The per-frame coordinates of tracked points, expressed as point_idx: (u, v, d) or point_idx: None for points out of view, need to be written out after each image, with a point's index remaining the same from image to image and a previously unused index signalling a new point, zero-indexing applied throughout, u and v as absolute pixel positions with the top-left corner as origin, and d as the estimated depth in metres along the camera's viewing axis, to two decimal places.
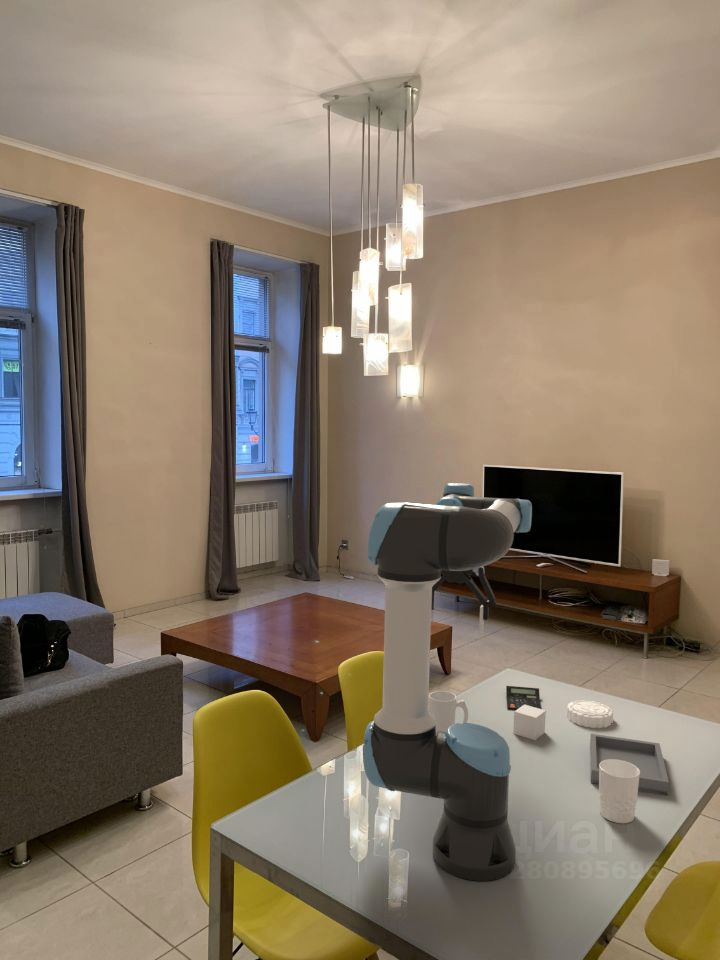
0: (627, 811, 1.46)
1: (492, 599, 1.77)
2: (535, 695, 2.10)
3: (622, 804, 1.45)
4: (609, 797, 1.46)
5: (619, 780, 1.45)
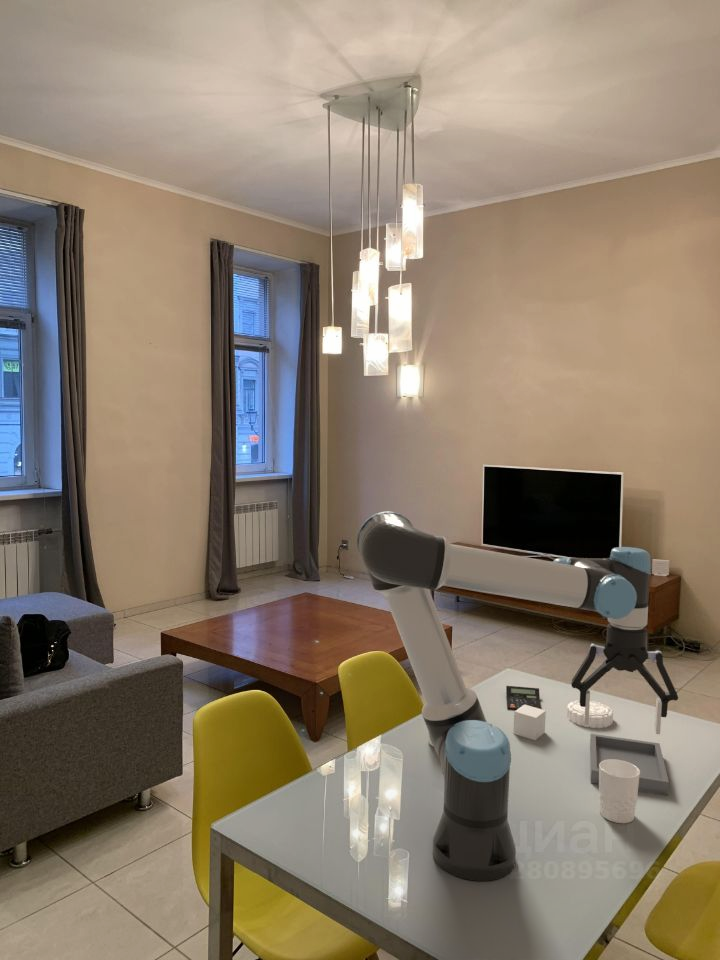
0: (627, 811, 1.46)
1: (674, 692, 1.43)
2: (535, 695, 2.10)
3: (622, 804, 1.45)
4: (609, 797, 1.46)
5: (619, 780, 1.45)
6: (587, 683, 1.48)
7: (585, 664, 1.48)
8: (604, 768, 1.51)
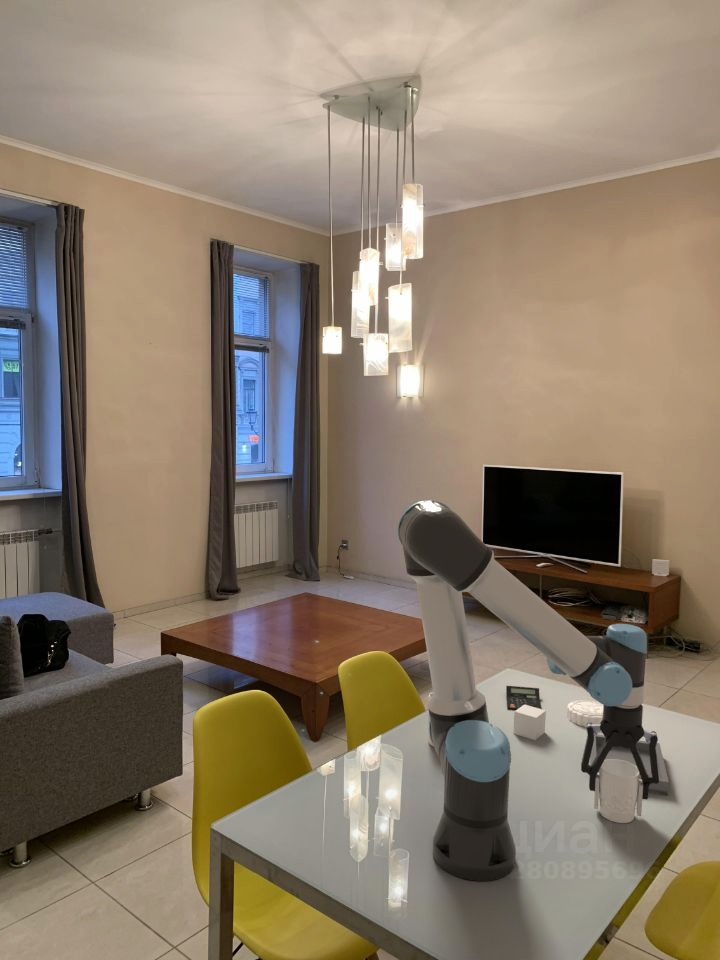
0: (627, 811, 1.46)
1: (656, 776, 1.45)
2: (535, 695, 2.10)
3: (622, 804, 1.45)
4: (609, 797, 1.46)
5: (619, 780, 1.45)
6: (594, 767, 1.49)
7: (587, 746, 1.49)
8: (604, 768, 1.51)
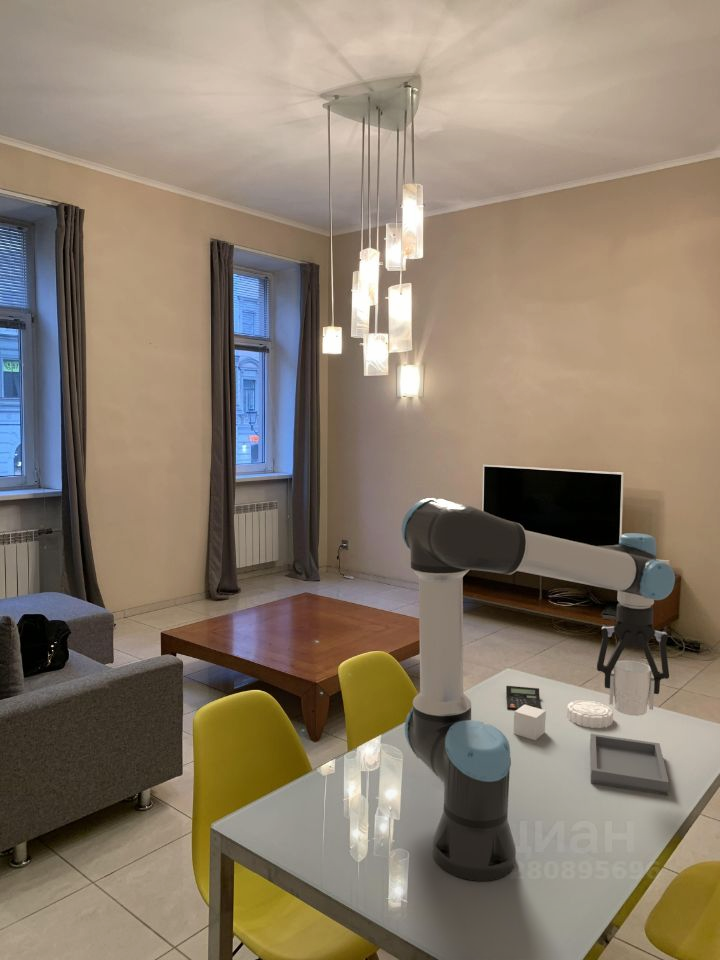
0: (640, 704, 1.58)
1: (667, 672, 1.57)
2: (535, 695, 2.10)
3: (635, 697, 1.57)
4: (623, 691, 1.58)
5: (632, 675, 1.57)
6: (609, 665, 1.61)
7: (602, 646, 1.61)
8: (618, 668, 1.64)
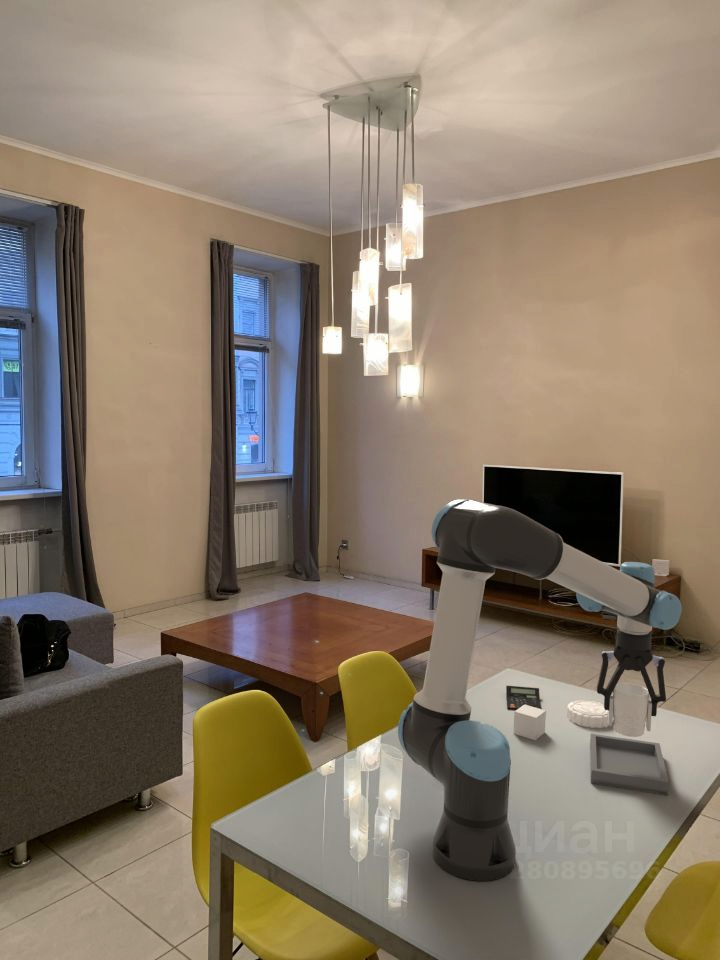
0: (638, 726, 1.65)
1: (664, 695, 1.65)
2: (535, 695, 2.10)
3: (633, 719, 1.65)
4: (622, 713, 1.65)
5: (630, 698, 1.64)
6: (609, 688, 1.68)
7: (602, 670, 1.68)
8: (617, 690, 1.71)
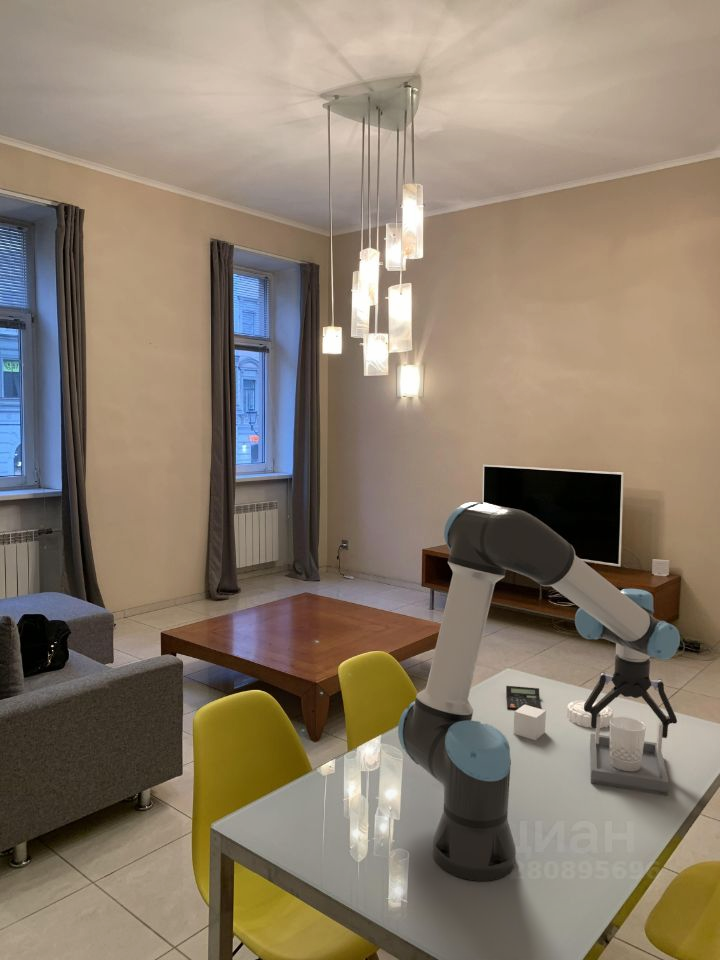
0: (634, 761, 1.66)
1: (673, 717, 1.64)
2: (535, 695, 2.10)
3: (630, 754, 1.65)
4: (619, 748, 1.66)
5: (627, 733, 1.65)
6: (598, 707, 1.69)
7: (596, 691, 1.69)
8: (614, 724, 1.72)
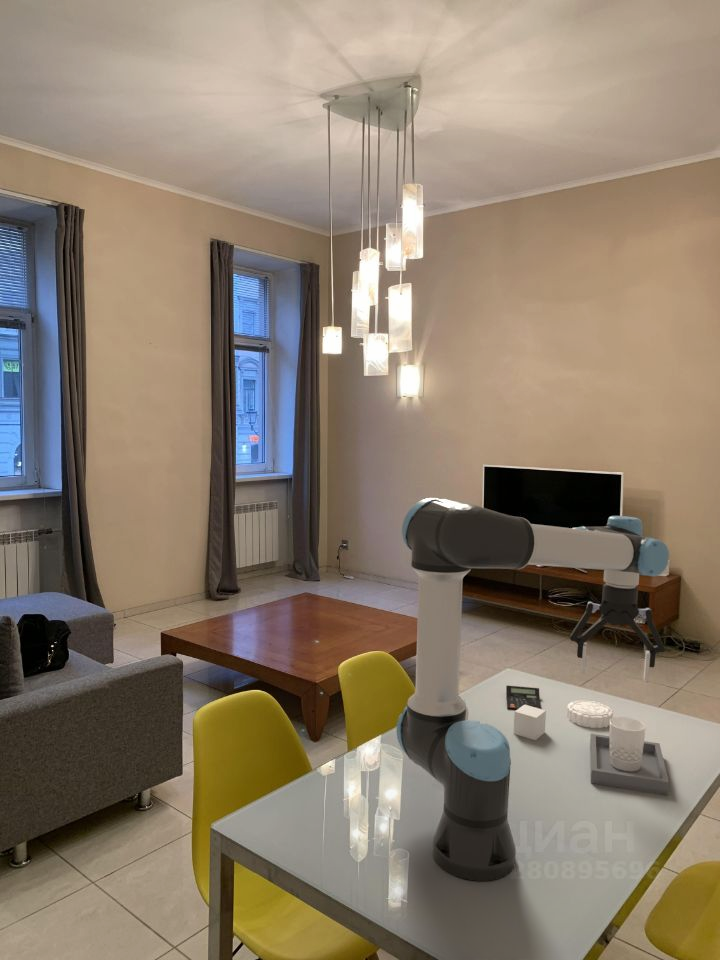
0: (634, 761, 1.66)
1: (661, 645, 1.61)
2: (535, 695, 2.10)
3: (630, 754, 1.65)
4: (619, 748, 1.66)
5: (627, 733, 1.65)
6: (584, 636, 1.66)
7: (583, 619, 1.66)
8: (614, 724, 1.72)
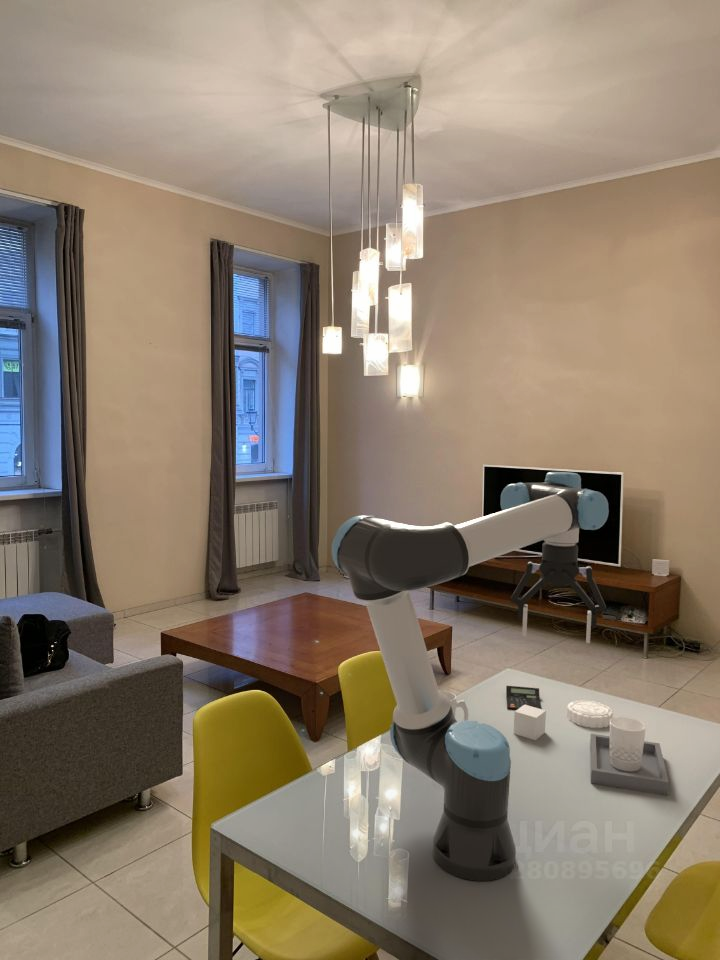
0: (634, 761, 1.66)
1: (602, 604, 1.55)
2: (535, 695, 2.10)
3: (630, 754, 1.65)
4: (619, 748, 1.66)
5: (627, 733, 1.65)
6: (524, 598, 1.60)
7: (522, 580, 1.60)
8: (614, 724, 1.72)
